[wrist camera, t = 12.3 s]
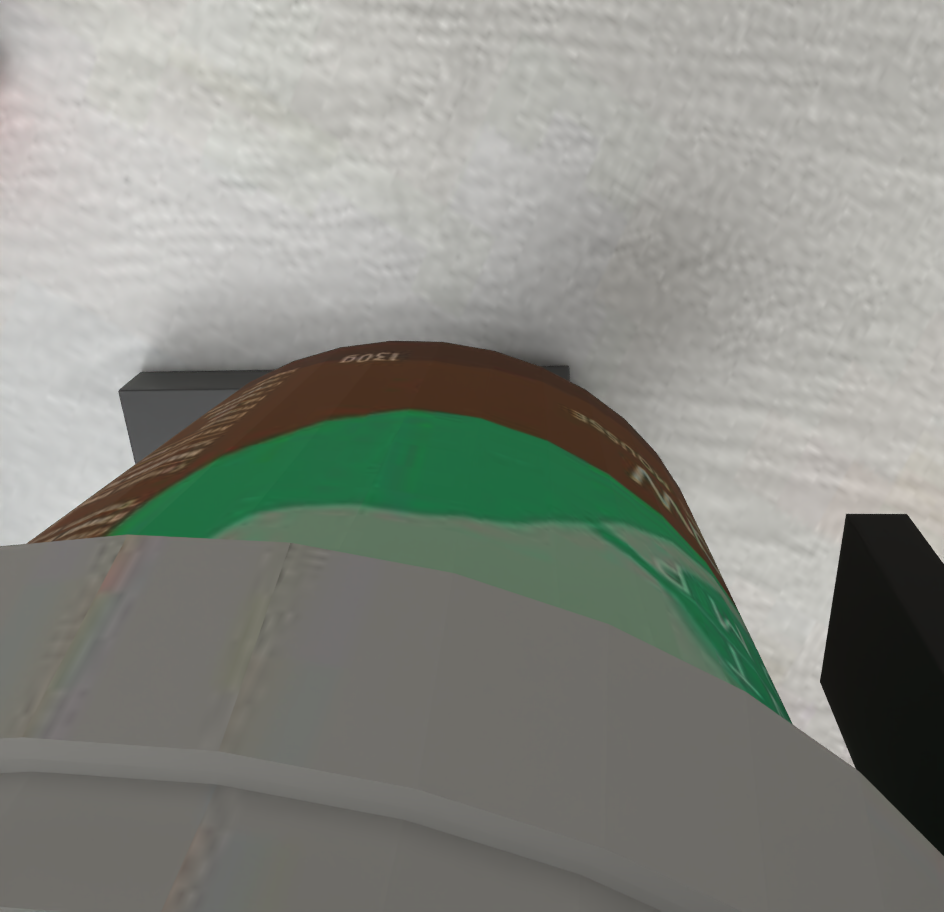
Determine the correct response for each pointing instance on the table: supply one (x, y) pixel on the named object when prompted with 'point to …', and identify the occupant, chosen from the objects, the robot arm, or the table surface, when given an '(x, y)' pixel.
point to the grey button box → (186, 402)
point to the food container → (411, 673)
